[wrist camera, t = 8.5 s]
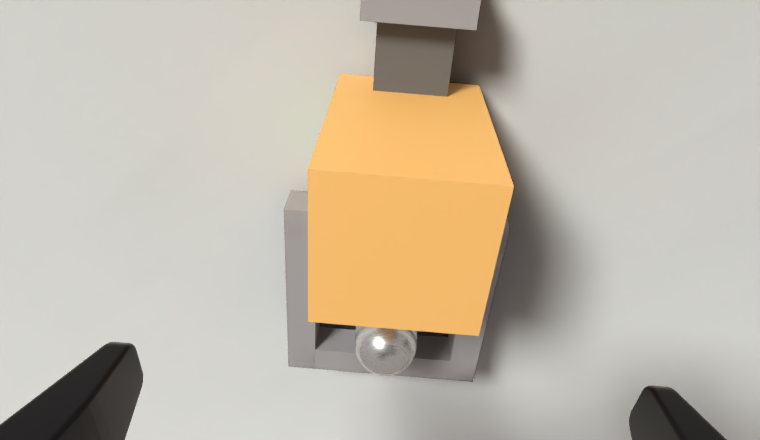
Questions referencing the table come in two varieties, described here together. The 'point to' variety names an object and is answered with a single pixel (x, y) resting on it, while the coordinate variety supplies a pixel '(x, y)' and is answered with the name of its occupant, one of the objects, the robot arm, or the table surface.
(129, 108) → the table surface
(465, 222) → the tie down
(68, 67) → the table surface
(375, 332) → the keeper
